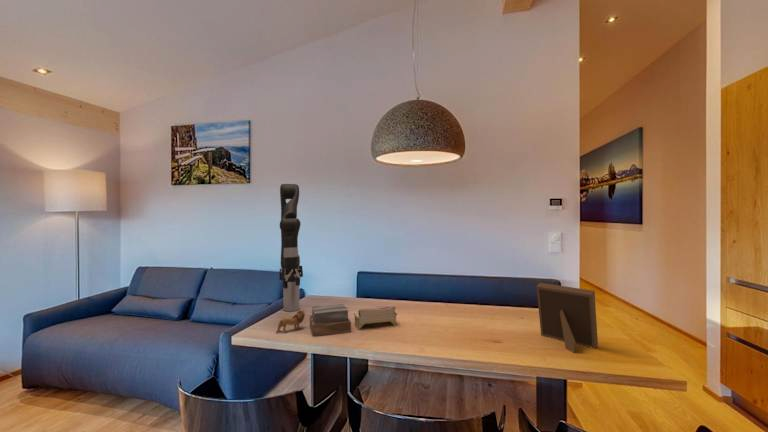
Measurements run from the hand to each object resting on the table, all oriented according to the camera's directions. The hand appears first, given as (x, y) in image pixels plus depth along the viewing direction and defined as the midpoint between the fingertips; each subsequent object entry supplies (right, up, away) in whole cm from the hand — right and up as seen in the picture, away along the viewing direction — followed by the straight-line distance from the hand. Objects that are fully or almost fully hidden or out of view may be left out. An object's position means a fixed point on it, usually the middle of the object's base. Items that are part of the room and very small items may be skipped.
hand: (291, 287), depth 170 cm
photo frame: (+128, -19, -29) cm, 132 cm away
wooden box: (+21, -19, -9) cm, 30 cm away
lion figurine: (+3, -19, -11) cm, 22 cm away
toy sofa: (+44, -19, -4) cm, 48 cm away
